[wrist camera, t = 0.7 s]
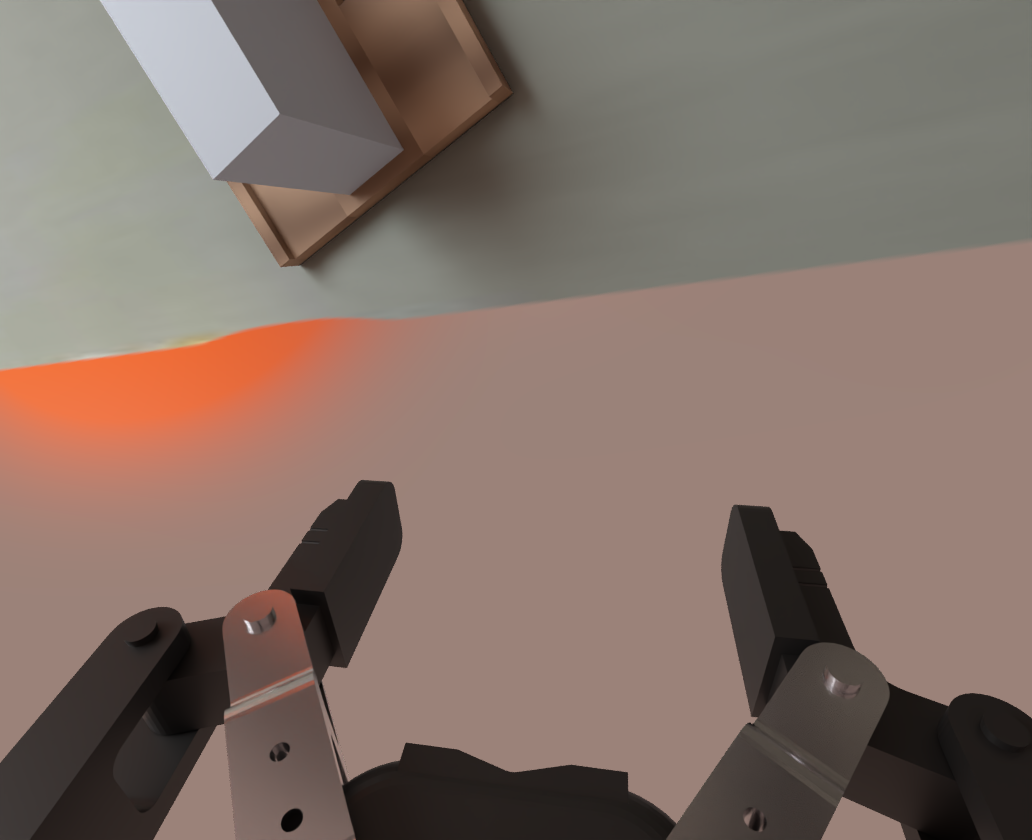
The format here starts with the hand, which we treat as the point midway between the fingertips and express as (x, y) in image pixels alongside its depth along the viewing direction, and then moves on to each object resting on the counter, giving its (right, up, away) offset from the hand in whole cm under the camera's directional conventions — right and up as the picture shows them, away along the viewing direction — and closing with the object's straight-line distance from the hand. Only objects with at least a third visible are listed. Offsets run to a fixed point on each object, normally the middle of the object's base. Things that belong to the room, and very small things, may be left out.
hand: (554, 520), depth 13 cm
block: (-13, +24, +23) cm, 36 cm away
